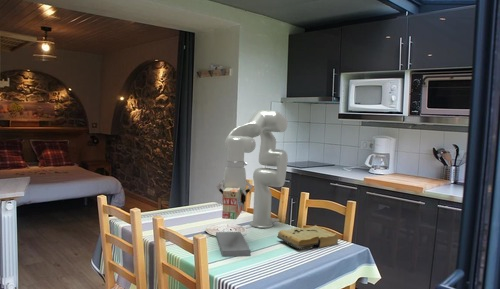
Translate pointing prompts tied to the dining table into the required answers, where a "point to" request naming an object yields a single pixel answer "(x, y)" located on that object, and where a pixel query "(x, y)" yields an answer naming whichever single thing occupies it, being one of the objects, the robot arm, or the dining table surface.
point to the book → (308, 237)
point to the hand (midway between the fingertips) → (234, 203)
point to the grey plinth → (232, 244)
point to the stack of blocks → (232, 203)
